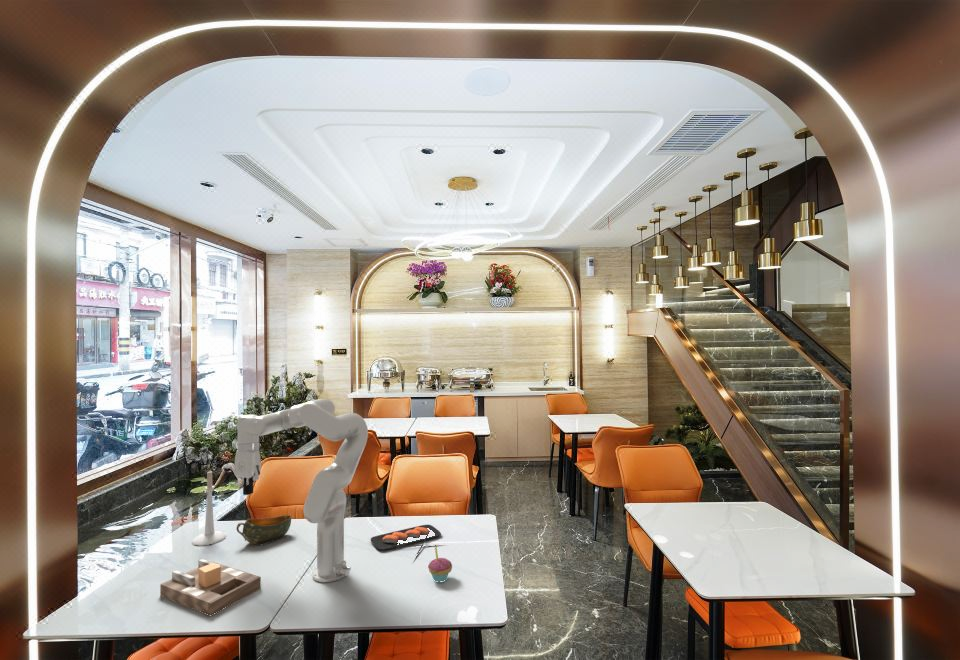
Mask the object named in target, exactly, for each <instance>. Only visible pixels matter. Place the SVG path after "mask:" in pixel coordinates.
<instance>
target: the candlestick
mask: <svg viewBox="0 0 960 660" xmlns="http://www.w3.org/2000/svg"><path fill="white" fill-rule="evenodd" d="M206 484H207V485H206V486H205V488H204V489H205V490H206V508H205V509H206V510H205V522H204V523H205V524H204V532H203V533H201V534H198V535H197V536H196V537H193V539H192V541H191V543H192V545H193V544H194V545H193V546H195V545H198V546H197V547H204V546H203V545H207V546H210V545H209V544H212V545H214V544H213V543H215V544H217V543H216V542H218V543H220V542H222V541H224V540H225V539H226V538H227V534H226V533H225V532H223V531H219V530H218V531H217V530H215V524H214V521H215V520H214V506H213V503H214V501H213V494H212V493H213V491H214V488H215V485H213V471H212V470H211V471H210V470H209V471H207V473H206ZM225 537H226V538H225ZM224 538H225V539H224ZM223 539H224V540H223ZM221 540H222V541H221ZM219 541H220V542H219Z"/></svg>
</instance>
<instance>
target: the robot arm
mask: <svg viewBox="0 0 960 660" xmlns="http://www.w3.org/2000/svg"><path fill="white" fill-rule="evenodd" d="M335 409H336V407H335V404H334V402H333V401H332V400H331V399H328V398H319V399H314V400H308V401H307V402H303V403H300V404H295V405H293V406H291V407H290V408H288V409H284V410H280V411H276V412H272V413H267V414H262V415H258V414H254V413H253V414H243V415H240V416H238V418H237V448H236V449H237V450H236V452H235V457H234V466H233V468H234V469H233V470H234V471H233V473H234V476H235V477H237V478H239V479H240V480H241V484H242V494H243V496H248V495H251V494H253V493H254V484H255V481H258V480H260V477H259V476H260V475H261V471H262V466H261V465H262V461H261V454H260V437H262V436H266V435H270V434H272V433H275V432H276V433H277V432H280V431H283V430H288V429H291V428H297V429H299V428H302V427H307V428H309V429H310V430H312V431H314V432H315V433H316V434H319V435H320V436H321V437H323V439H326V440H328V441H331V442H340V441H342V440H343V441H342V443H341V445H340V447H339V449H338V451H337V453H336V455H335V458H334V460H333V462H332V463H331V464H330V465H328V466H326V467H324V468H323V469H321V470H320V471H318V473H317V474H316V475H315V477H314V478H313V481H312V483H311V486H310V489H309V492H308V493H307V496H306V499H305V501H304V505H303V515H304V518H305V520H306V521H308V522H309V523H310V524H317V525H316V544H317V545H316V568H315V569H314V570H313V572H312V579H313V580H314V581H316V582H318V581H319V582H320V583H332V582H335V581H339V580H341V579H343V578H344V577H348V576H349V574H350V571H351V570H352V567H351V566H348V565H347V560H345V513H346V507H347V495H346V492H345V491H344V490H343V489H344V488H347V487H348V486H349V485H350V484H351V482H352V481H353V477H354V475H355V473H356V470H357V467H358V465H359V462H360V459H361V457H362V454H363V452H364V450H365V448H366V445H367V441H368V438H369V429H368V425H367V423H366V421H365V419H364V418H363V417H362V416H361V415H360V414H358V413H355V412H348V413H343V414H341V415H336V416H335V411H336V410H335Z"/></svg>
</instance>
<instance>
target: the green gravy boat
mask: <svg viewBox="0 0 960 660" xmlns="http://www.w3.org/2000/svg"><path fill="white" fill-rule="evenodd" d="M291 524H292V515H290V514H285V515H280V516H275V517H268V518H248V519H246V520H245V522H239V523H237V525H236V531H237V533H239V534H240V535H241V536H242V537H243V538H244V541H246V542H248V544H249V545H250V546H253V545H256V546H262V545H261V544H263V545H266V543H267V544H269V543H270V542H271V543H273V541H274V542H276V540H277V541H279V540H281V538H282V539H283V538H285V537H284V536H286V534H287V533H288V531H289V530H290V527H291ZM241 526H242V531H240V529H239V528H240V527H241Z"/></svg>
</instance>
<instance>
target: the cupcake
mask: <svg viewBox="0 0 960 660" xmlns="http://www.w3.org/2000/svg"><path fill="white" fill-rule="evenodd" d="M434 545H435V547H434V550H435V559H433V560H431V561H430V562H429V564H428V567H427V568H428V571H429V573H430V574H431V576H432V580H433V579H434V580H435V581H438V582H440V581H444V580H446V579H447V580H448V576H449V574H450V573H451V571H452V569H453V564H452V561H450V560H449V559H448V558H446V557H439V554H438V548H437V547H438V546H436V545H437V544H434ZM434 580H433V581H434ZM447 580H446V581H447ZM435 581H434V582H435Z"/></svg>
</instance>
